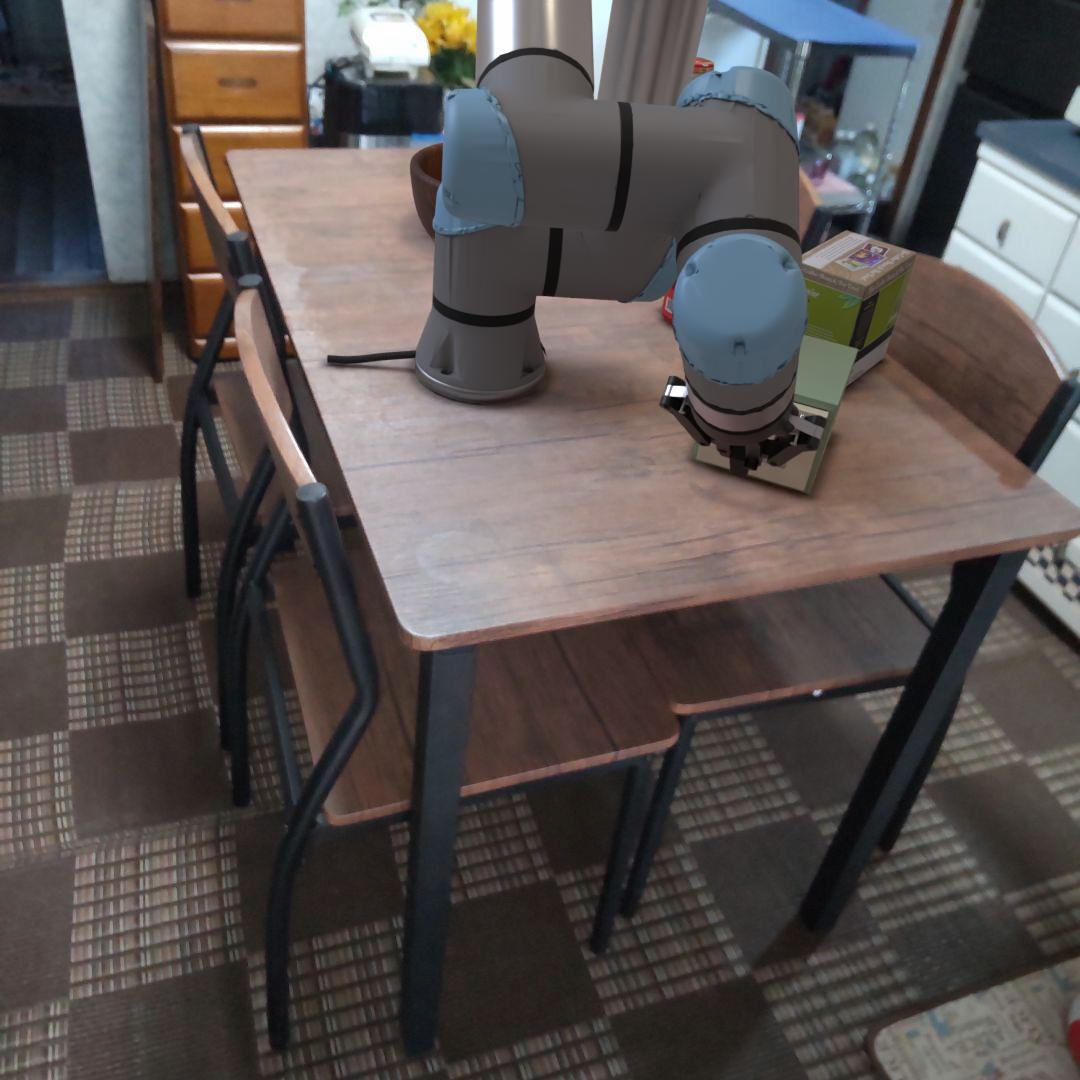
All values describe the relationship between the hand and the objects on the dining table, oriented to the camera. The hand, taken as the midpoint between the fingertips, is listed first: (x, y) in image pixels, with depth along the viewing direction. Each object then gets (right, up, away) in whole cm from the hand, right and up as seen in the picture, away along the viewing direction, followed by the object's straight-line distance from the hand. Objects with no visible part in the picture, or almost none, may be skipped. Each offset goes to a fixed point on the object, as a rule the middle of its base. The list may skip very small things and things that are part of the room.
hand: (742, 463), depth 92 cm
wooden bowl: (-26, +39, +59) cm, 76 cm away
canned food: (+1, +23, +42) cm, 48 cm away
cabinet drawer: (+5, +2, +15) cm, 15 cm away
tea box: (+18, +15, +36) cm, 43 cm away
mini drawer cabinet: (+6, +3, +18) cm, 19 cm away
